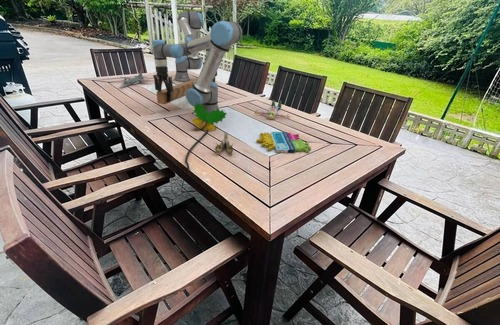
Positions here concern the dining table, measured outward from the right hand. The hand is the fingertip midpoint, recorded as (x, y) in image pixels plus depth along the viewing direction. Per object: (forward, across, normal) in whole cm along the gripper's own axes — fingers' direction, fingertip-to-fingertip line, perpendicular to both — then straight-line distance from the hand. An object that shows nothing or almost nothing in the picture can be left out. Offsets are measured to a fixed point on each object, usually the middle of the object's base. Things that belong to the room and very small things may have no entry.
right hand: (165, 101), depth 181 cm
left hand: (0, +1, -67) cm, 67 cm away
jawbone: (+10, -62, +36) cm, 72 cm away
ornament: (+9, -40, +12) cm, 43 cm away
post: (+1, 0, -33) cm, 33 cm away
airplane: (+7, +75, -53) cm, 93 cm away
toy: (+10, -68, -38) cm, 78 cm away
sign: (+11, -87, +10) cm, 88 cm away
